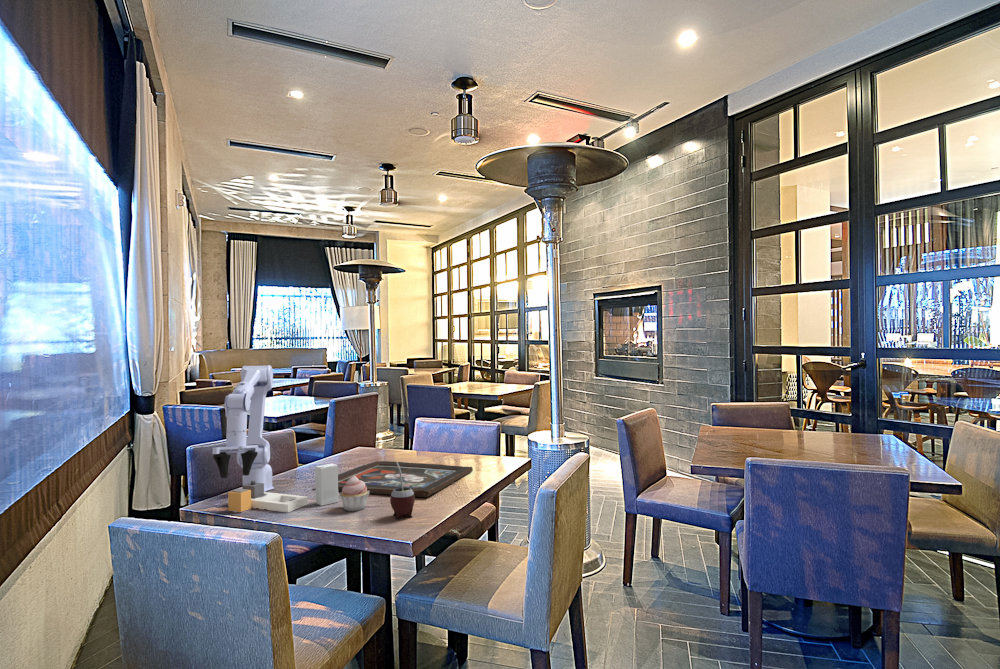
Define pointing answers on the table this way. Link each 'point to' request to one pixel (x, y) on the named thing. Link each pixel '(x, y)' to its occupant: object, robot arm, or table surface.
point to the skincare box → (326, 484)
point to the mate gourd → (402, 500)
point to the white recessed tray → (279, 502)
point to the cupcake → (354, 495)
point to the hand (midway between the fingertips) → (235, 476)
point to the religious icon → (404, 477)
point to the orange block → (239, 500)
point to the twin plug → (255, 489)
